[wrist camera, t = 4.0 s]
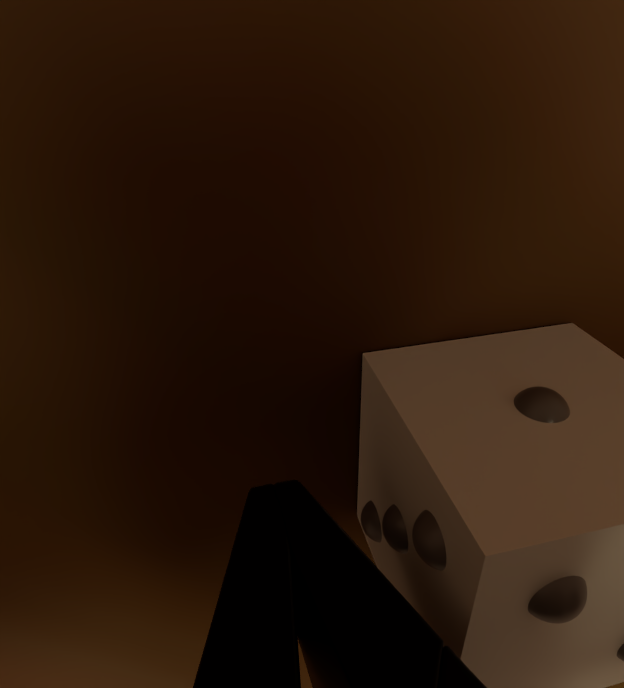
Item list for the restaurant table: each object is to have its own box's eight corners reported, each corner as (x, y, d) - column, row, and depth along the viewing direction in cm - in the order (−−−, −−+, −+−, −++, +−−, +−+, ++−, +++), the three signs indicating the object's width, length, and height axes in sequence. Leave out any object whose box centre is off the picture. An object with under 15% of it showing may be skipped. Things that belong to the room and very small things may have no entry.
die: (528, 480, 11) (691, 682, 8) (345, 518, 10) (433, 762, 7) (575, 310, 9) (836, 483, 5) (348, 342, 8) (478, 566, 5)
